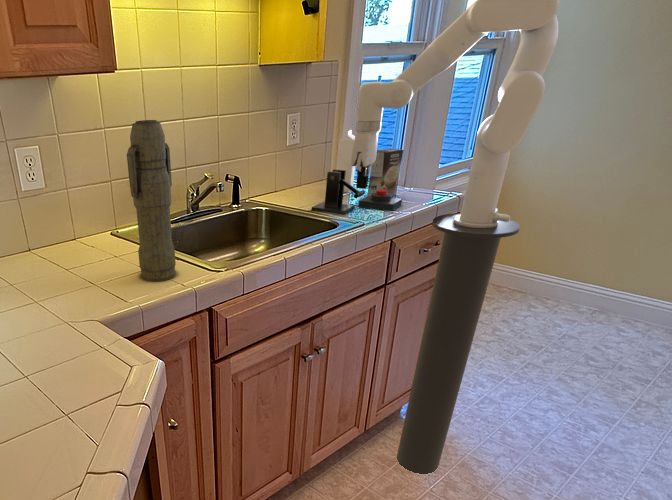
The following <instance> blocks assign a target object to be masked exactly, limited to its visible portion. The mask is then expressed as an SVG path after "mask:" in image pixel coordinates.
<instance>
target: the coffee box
mask: <svg viewBox="0 0 672 500" xmlns="http://www.w3.org/2000/svg"><path fill="white" fill-rule="evenodd" d="M403 157H404V149H400V148H383V149H377V155H376V160H375V162H374V163H373V164H372V166H371V167H370V172H369V178H368V186H367V194H366V197H367V196H371V194H372V193H376V190H379V189H384V190H387V193H389V194H391V197H393V196H397V193H398V192H397V191H398V187H399V186H398V185H399V179H400V174H401V167H402V163H403Z"/></svg>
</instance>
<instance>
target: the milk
mask: <svg viewBox="0 0 672 500" xmlns="http://www.w3.org/2000/svg"><path fill="white" fill-rule="evenodd" d="M352 132H353V131H352V129H350V130H348V131H347V135H346V136H344V137H342V138H341V139H339V141H338V149H337V150H338V151H337V160H336V169H335V170H346V175H345V181H346V182H347V183H349V184H350V185H351V186H353V187H354V181H355V174H356V173H355V172H356V166H351V158H352V151H353V145H354V140H355V135H354V134H352ZM351 192H352V191H351V190H350V189H348V188H347V187H346V186H344V193H351Z"/></svg>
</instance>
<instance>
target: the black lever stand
mask: <svg viewBox="0 0 672 500" xmlns="http://www.w3.org/2000/svg"><path fill="white" fill-rule="evenodd" d="M334 171H338V172H334ZM326 174H327V175H326V183H325V193H324V194H325V196H324V201H322V202H319V203H317V204H315V205H313V206H311V211H313V212H322V213H329V214H336V215H346V214H348V213H349V212H352V211H353V210H355V209H356V205H355V204H346V203H343V202H344V193H345V192H344V185H343V184H342V183H341V182H340V178H342V179H343V180H345V175H346V170H336V169H335V168H334V169H332V171H331V170H328V171H327V173H326ZM341 175H343V176H342V177H341Z"/></svg>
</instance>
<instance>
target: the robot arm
mask: <svg viewBox="0 0 672 500" xmlns="http://www.w3.org/2000/svg"><path fill="white" fill-rule="evenodd" d="M559 8H560V0H476V1H474V2H473V3H472V4H471V5H470V6H469V7H468V8H467V9H466V10H464V11H463V12H462V13H461V14H459V16H458V17H457V18H456V19H455V20H454V21H453V22H452V23H451V24H450V25H449V26H448V27H447V28H446V29H444V31H442V33H440V34H439V35H438V36H437V37H436V38H435V39H434V40H433V41H432V42H431V43H430V44H429V45H427V47H426V48H425V49H424V50H423V51H422V53H421V54H420V55H419V56H418V57H417V58H416V59H415V60H413V62H412V63H410V65H408V66H407V67H406V68H405V69H404V70H403V71H402V72H401V73H400V74H399V75H398V76H397V77H396V78H394V79H393V80H392V81H389V82H383V81H368V82H363V83H361V85H360V86H359V89H358V90H359V91H358V98H357V99H358V100H357V108H356V121H355V129H354V130H355V131H354V133H355V135H354V136H355V140H354V145H353V151H352V158H351V166H355V172H356V185H355V189H361V190H365V189H368V186H369V178H370V172H371V166H372V164H373V163H374V162H375V160H376V155H377V150H378V144H379V133H381V130H382V122H383V121H382V120H383V113H384V109H394V110H396V109H397V110H399V109H402V108H404V107H406V106H407V105H408V104H409V103H410V101H411V100H412V99H413V96H414V95H415V94H416V93H418V91H420V89H422V88H423V87H424V86H425V85H426V84H428V83H430V81H431V80H432V79H433V78H435V77H436V76H438V75H440V74H442V73H444V72H445V71H446V70H448V69H449V68H450V67H451V66H453V65H454V64H455V63H456V62H457V61H458V60H459V59H461V57H462V56H463V55H465V54H466V53H467V52H468V51H469V50H471V48H473V47H474V46H475V45H476V44H477V43H478V42H480V41H481V40H482V39H483V38H484V37H485V36H486V35H487V34H488V33H503V32H513V31H519V35H520V39H519V40H520V41H519V45H518V49H517V50H516V53H515V55H514V58H513V61H512V63H511V65H510V68H509V69H508V70H507V73H506V75H505V77H504V79H503V81H502V83H501V85H500V87H499V90H498V94H497V99H498V102H499V103H498V105H497V107H496V110H495V111H494V113H493V114H491V115H490V116H488V117H487V118H486V119H484V121H483V122H481V124H480V126H479V128H478V130H477V133H476V137H475V144H474V150H473V158H472V161H471V167H470V171H469V174H468V179H467V183H466V187H465V192H464V196H463V200H462V206H461V209H460V213H461V214H460V216H457V217H455V218H454V221H453V222H454V223H455V224H457V225H460V226H464V227H470V228H492V227H495V226H497V225H498V221H503V222H509V220H511V215H508V214H507V213H500V212H499V208H497V206H498V203H499V199H500V196H501V191H502V187H503V184H504V179H505V176H506V173H507V168H508V166H509V165H508V164H509V161H510V155H511V151H512V150H513V149H514V148H516V147H517V146H518V145H519V144H520V143H521V141H522V139H523V138H524V136H525V134H526V132H527V130H528V128H529V127H530V124H531V123H532V121H533V119H534V117H535V114H536V113H537V111H538V109H539V107H540V105H541V103H542V101H543V98H544V95H545V92H546V82H545V79H544V78H543V77H544V74H545V71H546V69H547V67H548V65H549V63H550V61H551V59H552V57H553V54H554V52H555V50H556V47H557V44H558V39H559V31H560V27H559V20H558V16H557V13H558V10H559Z"/></svg>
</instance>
